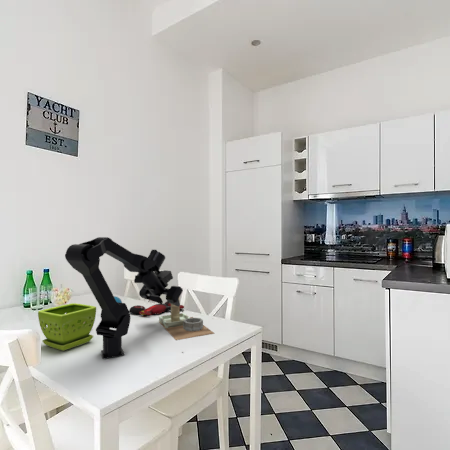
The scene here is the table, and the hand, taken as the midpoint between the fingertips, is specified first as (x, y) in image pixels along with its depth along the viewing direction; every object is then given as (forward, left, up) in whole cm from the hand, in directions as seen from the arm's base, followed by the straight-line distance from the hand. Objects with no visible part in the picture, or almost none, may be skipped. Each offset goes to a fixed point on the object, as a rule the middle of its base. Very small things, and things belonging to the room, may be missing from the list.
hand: (170, 304), depth 127 cm
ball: (+32, +18, -9) cm, 38 cm away
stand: (-6, -4, -9) cm, 12 cm away
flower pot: (-2, +37, -9) cm, 39 cm away
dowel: (+2, -3, -8) cm, 8 cm away
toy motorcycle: (+24, -1, -10) cm, 26 cm away
